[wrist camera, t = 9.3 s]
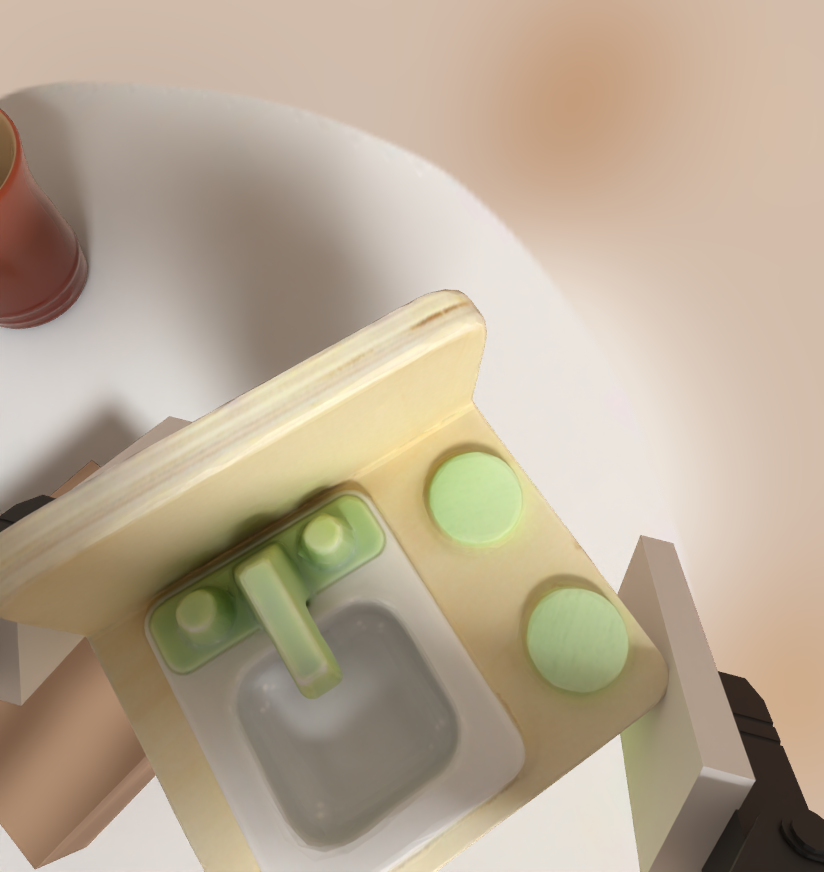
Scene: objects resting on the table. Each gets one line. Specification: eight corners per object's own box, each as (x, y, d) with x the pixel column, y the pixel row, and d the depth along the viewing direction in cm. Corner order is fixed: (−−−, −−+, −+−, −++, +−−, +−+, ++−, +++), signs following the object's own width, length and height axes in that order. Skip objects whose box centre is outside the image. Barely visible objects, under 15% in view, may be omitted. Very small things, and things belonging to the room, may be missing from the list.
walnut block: (-59, 658, 35) (-131, 651, 30) (130, 490, 38) (91, 459, 33) (89, 845, 32) (34, 869, 27) (281, 646, 35) (261, 637, 30)
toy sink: (323, 872, 19) (201, 1168, 7) (199, 641, 21) (-64, 555, 9) (567, 689, 21) (808, 667, 9) (430, 493, 23) (471, 256, 11)
